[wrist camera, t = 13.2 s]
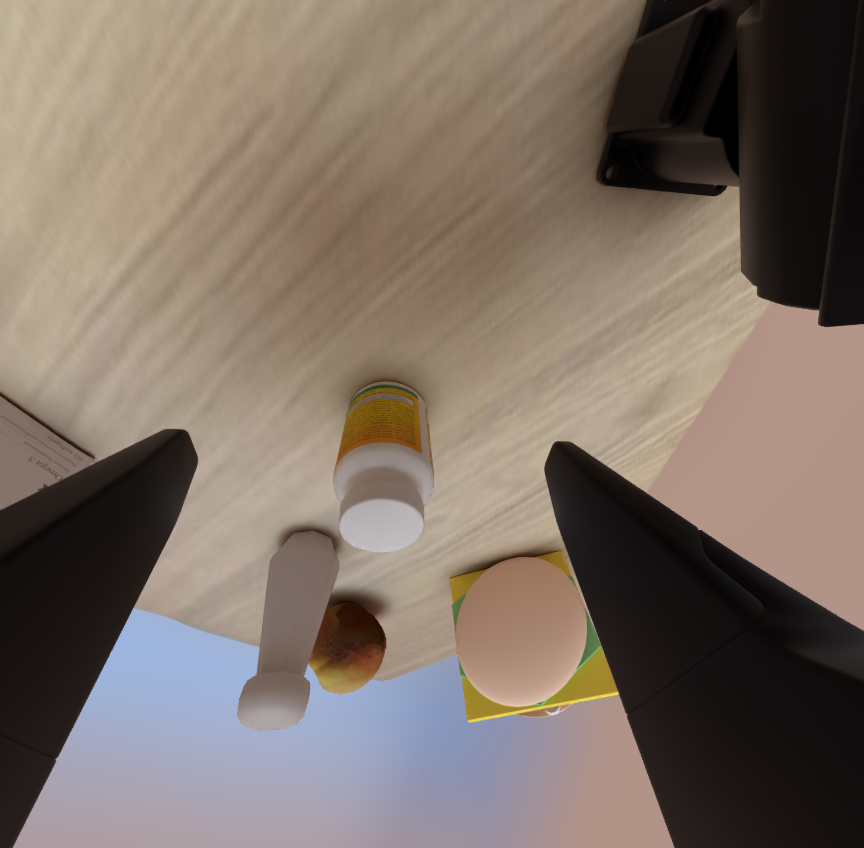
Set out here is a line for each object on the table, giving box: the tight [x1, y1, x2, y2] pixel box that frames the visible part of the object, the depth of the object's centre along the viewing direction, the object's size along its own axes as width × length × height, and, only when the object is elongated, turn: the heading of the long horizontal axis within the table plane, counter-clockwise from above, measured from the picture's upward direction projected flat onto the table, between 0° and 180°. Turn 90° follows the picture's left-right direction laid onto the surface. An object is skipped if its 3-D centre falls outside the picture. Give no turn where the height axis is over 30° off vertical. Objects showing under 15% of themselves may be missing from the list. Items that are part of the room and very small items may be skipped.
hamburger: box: [450, 551, 619, 723], centre depth 33 cm, size 12×8×12 cm
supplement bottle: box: [333, 381, 434, 552], centre depth 20 cm, size 5×5×10 cm
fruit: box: [309, 602, 386, 695], centre depth 36 cm, size 8×8×8 cm
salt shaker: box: [237, 530, 339, 730], centre depth 27 cm, size 6×6×13 cm
